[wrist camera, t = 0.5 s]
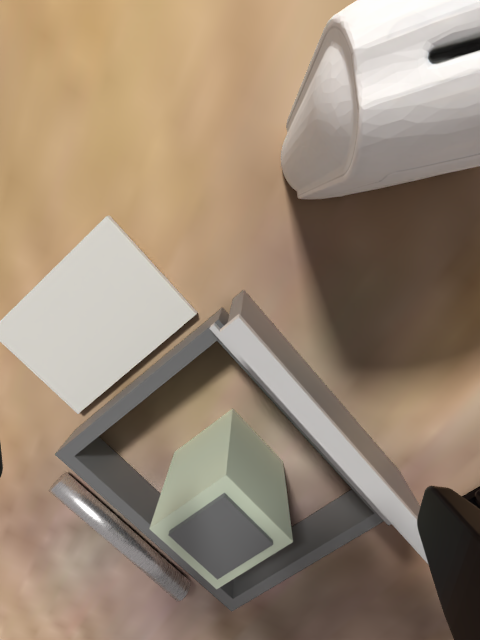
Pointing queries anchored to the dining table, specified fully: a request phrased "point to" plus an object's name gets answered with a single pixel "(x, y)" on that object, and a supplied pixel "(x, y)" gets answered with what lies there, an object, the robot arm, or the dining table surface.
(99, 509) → the rod
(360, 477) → the case lid open
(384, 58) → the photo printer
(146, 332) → the pad
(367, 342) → the dining table surface
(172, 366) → the case base
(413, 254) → the dining table surface
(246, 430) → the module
